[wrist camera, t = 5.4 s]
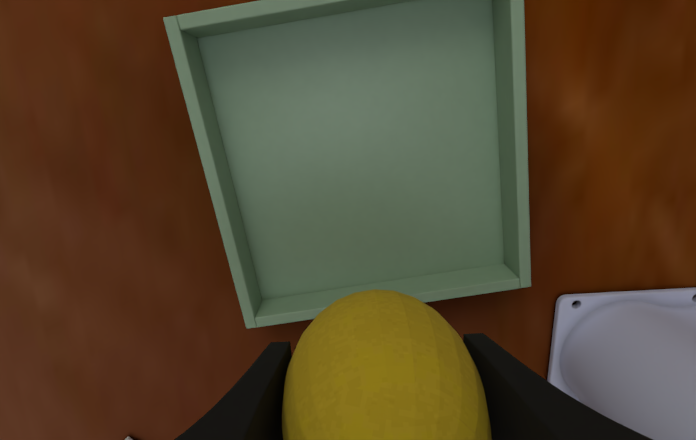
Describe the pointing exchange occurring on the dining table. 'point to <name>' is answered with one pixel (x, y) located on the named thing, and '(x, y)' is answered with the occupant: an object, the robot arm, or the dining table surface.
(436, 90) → the tray
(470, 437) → the lemon
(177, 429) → the dining table surface
